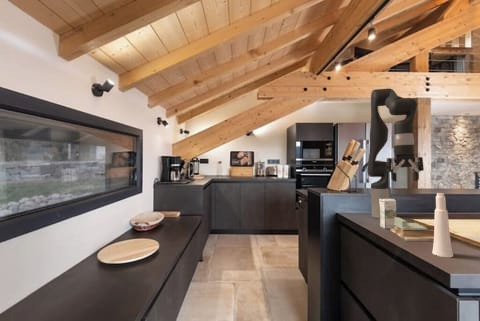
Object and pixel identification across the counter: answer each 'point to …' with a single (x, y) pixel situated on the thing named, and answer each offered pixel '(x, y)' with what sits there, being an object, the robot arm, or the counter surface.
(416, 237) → the board
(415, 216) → the counter surface
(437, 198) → the cosmetic bottle
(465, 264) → the counter surface
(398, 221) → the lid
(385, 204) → the syrup box
